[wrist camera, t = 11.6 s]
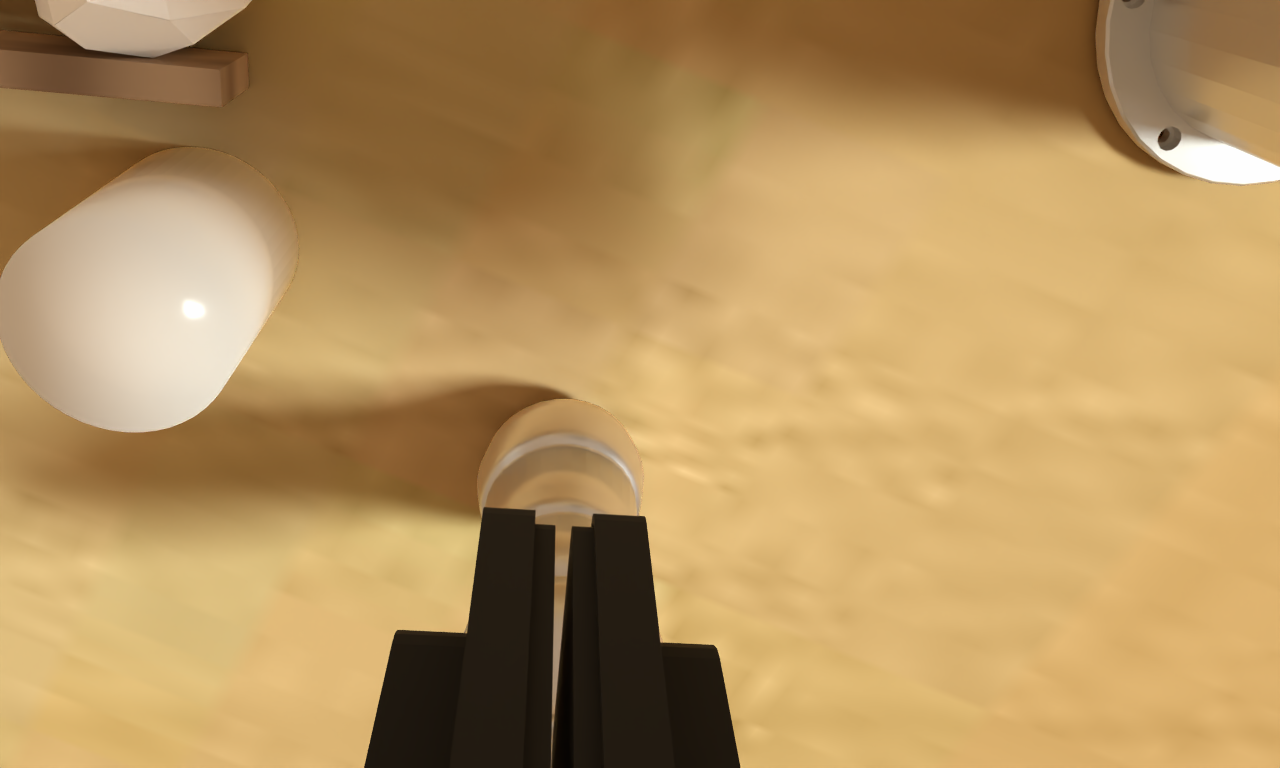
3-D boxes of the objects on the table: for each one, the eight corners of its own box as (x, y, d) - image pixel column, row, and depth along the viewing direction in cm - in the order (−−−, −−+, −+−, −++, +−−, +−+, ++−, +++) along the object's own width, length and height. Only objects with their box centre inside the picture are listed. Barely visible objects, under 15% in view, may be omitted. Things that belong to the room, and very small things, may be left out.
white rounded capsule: (296, 155, 42) (230, 227, 33) (300, 332, 44) (240, 439, 36) (97, 138, 41) (-20, 207, 33) (114, 319, 44) (10, 424, 36)
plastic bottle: (448, 462, 47) (374, 839, 29) (555, 348, 45) (545, 675, 27) (567, 547, 49) (566, 949, 31) (673, 441, 47) (739, 803, 29)
